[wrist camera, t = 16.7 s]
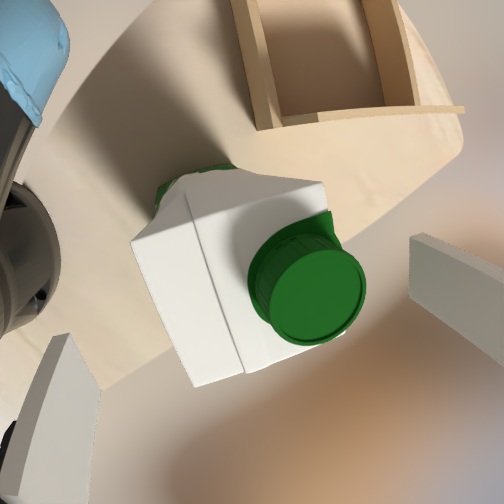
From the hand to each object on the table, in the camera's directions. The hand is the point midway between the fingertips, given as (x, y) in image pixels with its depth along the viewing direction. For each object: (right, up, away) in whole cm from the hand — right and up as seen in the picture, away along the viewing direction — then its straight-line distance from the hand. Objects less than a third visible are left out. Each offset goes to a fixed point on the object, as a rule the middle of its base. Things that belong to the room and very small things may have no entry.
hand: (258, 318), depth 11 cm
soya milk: (-4, +6, +19) cm, 20 cm away
